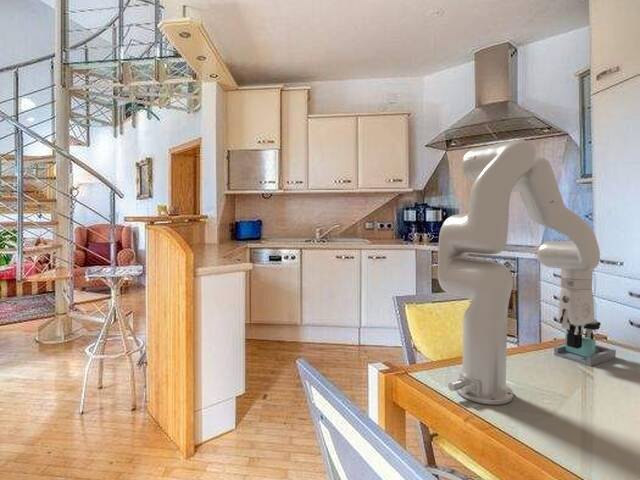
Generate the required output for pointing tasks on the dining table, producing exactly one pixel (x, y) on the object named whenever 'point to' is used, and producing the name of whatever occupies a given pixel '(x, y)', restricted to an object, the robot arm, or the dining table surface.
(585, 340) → the clamp jaw
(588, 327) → the push button
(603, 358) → the tray
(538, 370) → the dining table surface
